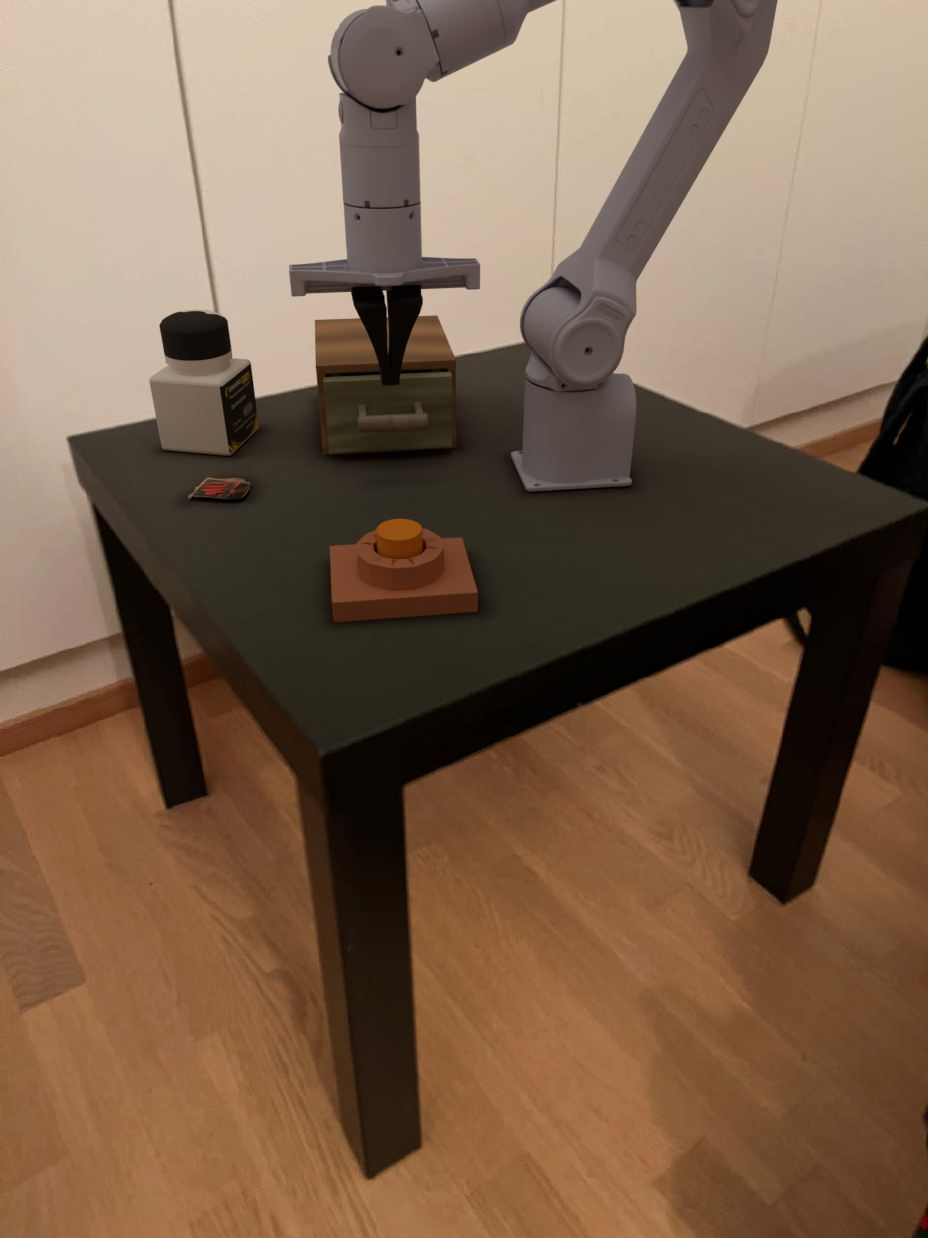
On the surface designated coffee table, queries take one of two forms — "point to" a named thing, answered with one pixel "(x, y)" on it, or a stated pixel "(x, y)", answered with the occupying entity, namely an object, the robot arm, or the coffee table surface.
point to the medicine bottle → (202, 387)
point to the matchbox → (222, 488)
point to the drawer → (388, 411)
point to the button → (399, 539)
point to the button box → (401, 580)
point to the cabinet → (352, 352)
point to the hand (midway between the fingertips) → (390, 381)
